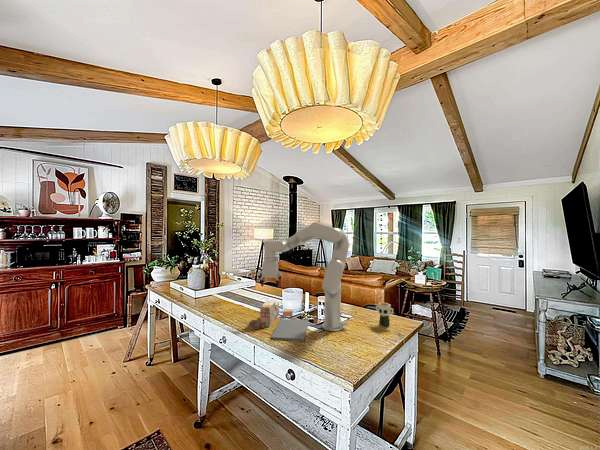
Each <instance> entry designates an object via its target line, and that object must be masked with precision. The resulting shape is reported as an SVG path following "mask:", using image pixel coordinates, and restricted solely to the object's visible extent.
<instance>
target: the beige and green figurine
mask: <svg viewBox="0 0 600 450" xmlns="http://www.w3.org/2000/svg"><path fill="white" fill-rule="evenodd" d="M375 311H377V312H378V315H380V316H379V321H378V324H379V325H380V326H383V327H389V326H390V317H389V316H390V315H393V314H394V308H392V307H391V304H390V303H388V302H379V303H378V305H375Z"/></svg>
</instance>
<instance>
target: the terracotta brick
mask: <svg viewBox="0 0 600 450" xmlns="http://www.w3.org/2000/svg"><path fill="white" fill-rule="evenodd" d="M286 316H292V317H293V310H292V309H283V310H282V317H283V318H284V317H286ZM286 318H287V317H286Z"/></svg>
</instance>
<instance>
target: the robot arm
mask: <svg viewBox="0 0 600 450" xmlns="http://www.w3.org/2000/svg"><path fill="white" fill-rule="evenodd" d="M316 238H317V239H321V240H323V241H326V242H329V243H332V244H334V248H333V249H332V250H333V251H332V256H331V259H330V261H328V263H327V265H326V268H325V271H324V277H323V280H322V285H321V286H322V287H321V288H322V290H323V292H324V322H323V323H322V324H321V328H322V329H323V330H325V331H327V332H339V331H342V330H343V329H344V326H345V327H348V326H349V322H348V321H347V322H346V321H344V320H342V319H341V315H342V313H341V308H342V307H341V303H342V302H341V301H342V299H341V298H342V297H341V296H342V295H341V294H342V278H343V273H344V271H345V269H346V267H345V266H346V262H347V256H348V253H349V246H350V242H349V238H348V235H347V234H346V233H345V232H344V230H342V229H341V228H338V227H332V226H329V225H326V224H323V223H321V222H318V221H313V222H311V223H310V224H309V225H308V226H306V227H304V228H301V229H299V230H298V231H296V232H295V234H293V235H292V236H290V237H287V238H285V239H282V240H274V239H273V240H270V239H269V240H265V241H264V249H263V251H264V254H263V255H264V261H263V263H262V269H261V270H260V271H258V272H256V276H257V278H258V279H259V280H260V286H261V287H264V285H265V282H264V281H265V280H264V278H272V279H273V278H274V279H276V281H275V287H276V288H278V287H279V286H280V280H281V279H282V278H283V276H284V273H283V272H281V271H280V270H279V265H278V261H279V258H278V257H277V253H285V252H288V251H290V250H292V249H294V248H296V247H298V246H301V245H303V244H305V243H308V242H310V241H312V240H314V239H316Z"/></svg>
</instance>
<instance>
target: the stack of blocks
mask: <svg viewBox="0 0 600 450" xmlns="http://www.w3.org/2000/svg"><path fill="white" fill-rule="evenodd" d="M259 308H260V309H259V311H260V312H259V314H260V316H259V319H260V320H261V327H260V328H262V327H264V328H271V326H273V324H274V322H276V320H277V318H278V317H279V316H280V302H279V301H275V300H274V301H271V300H270V301H269V300H266V301H265V302H264V303H263V304H261V305H260V306H259Z"/></svg>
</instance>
